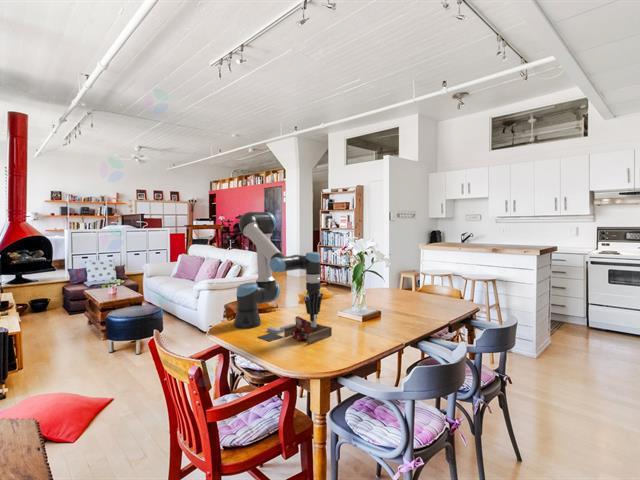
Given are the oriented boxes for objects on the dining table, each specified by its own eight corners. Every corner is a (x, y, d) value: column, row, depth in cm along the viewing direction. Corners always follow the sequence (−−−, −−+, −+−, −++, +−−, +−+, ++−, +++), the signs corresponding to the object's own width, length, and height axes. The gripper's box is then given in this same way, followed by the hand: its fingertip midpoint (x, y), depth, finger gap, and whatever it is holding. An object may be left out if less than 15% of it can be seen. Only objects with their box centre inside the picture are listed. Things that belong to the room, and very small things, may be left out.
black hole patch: (257, 337, 184) (257, 336, 184) (270, 333, 191) (270, 332, 191) (269, 341, 178) (269, 340, 178) (282, 337, 185) (282, 336, 185)
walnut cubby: (284, 336, 185) (284, 328, 185) (307, 328, 198) (307, 320, 198) (309, 344, 174) (309, 335, 174) (331, 335, 187) (331, 327, 187)
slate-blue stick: (267, 331, 195) (267, 328, 195) (270, 330, 197) (270, 326, 196) (277, 334, 189) (277, 331, 189) (280, 333, 191) (280, 330, 191)
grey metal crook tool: (279, 331, 194) (279, 327, 194) (292, 327, 202) (292, 323, 202) (287, 333, 190) (287, 330, 190) (301, 329, 198) (301, 325, 197)
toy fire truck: (301, 343, 176) (301, 322, 175) (290, 336, 186) (290, 316, 186) (313, 341, 179) (313, 320, 179) (302, 334, 190) (302, 314, 189)
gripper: (310, 284, 180) (310, 330, 181) (326, 281, 190) (327, 325, 191) (299, 282, 185) (299, 328, 186) (316, 279, 195) (316, 322, 196)
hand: (313, 326), depth 189 cm, fingers closed
